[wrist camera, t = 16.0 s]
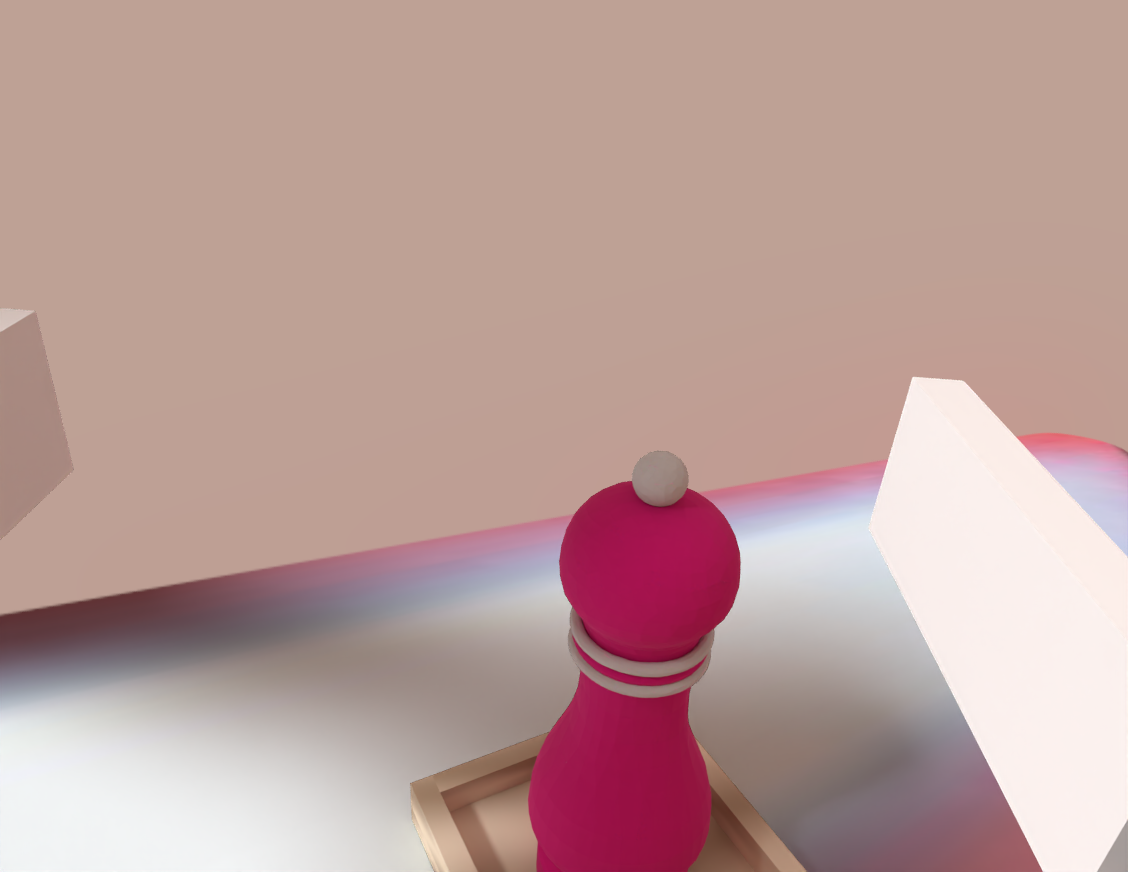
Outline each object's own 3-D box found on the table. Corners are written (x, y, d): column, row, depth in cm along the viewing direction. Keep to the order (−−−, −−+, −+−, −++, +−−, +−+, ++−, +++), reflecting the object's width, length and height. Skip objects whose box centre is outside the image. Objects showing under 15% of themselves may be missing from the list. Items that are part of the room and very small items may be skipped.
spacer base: (411, 818, 38) (410, 783, 37) (652, 724, 44) (657, 691, 43) (541, 1123, 28) (544, 1087, 27) (831, 950, 34) (843, 914, 33)
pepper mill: (673, 793, 39) (740, 404, 30) (717, 948, 33) (818, 516, 24) (518, 802, 38) (537, 403, 29) (531, 964, 32) (561, 520, 23)
